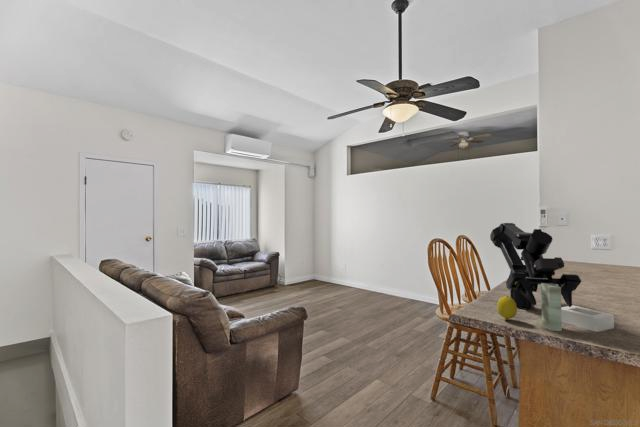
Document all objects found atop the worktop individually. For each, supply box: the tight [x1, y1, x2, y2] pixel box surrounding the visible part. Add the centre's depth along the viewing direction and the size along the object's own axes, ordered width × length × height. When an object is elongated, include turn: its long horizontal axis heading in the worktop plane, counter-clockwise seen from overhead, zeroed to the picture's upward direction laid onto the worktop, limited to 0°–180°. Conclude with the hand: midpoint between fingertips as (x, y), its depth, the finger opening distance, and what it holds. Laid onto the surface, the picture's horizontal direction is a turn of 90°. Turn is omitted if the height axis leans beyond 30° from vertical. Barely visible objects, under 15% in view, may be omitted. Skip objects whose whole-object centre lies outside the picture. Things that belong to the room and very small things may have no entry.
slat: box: [540, 283, 563, 332], centre depth 91 cm, size 5×3×13 cm, turn 166°
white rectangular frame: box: [561, 304, 615, 333], centre depth 94 cm, size 11×9×4 cm
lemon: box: [496, 295, 518, 321], centre depth 98 cm, size 6×6×8 cm
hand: (552, 305), depth 90 cm, fingers open, 9 cm apart
